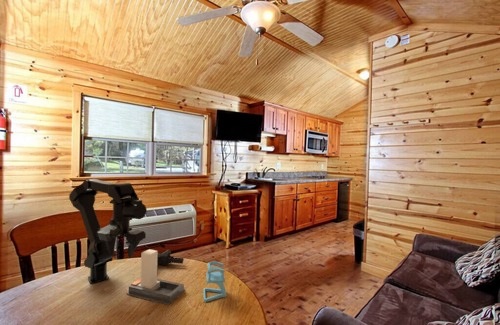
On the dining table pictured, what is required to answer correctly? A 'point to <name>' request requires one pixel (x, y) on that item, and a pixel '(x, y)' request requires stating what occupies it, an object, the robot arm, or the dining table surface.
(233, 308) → the dining table surface
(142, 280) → the slider
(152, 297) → the grey tray
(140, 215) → the robot arm
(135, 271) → the dining table surface
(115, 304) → the dining table surface
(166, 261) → the black angular piece
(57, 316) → the dining table surface
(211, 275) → the chair
